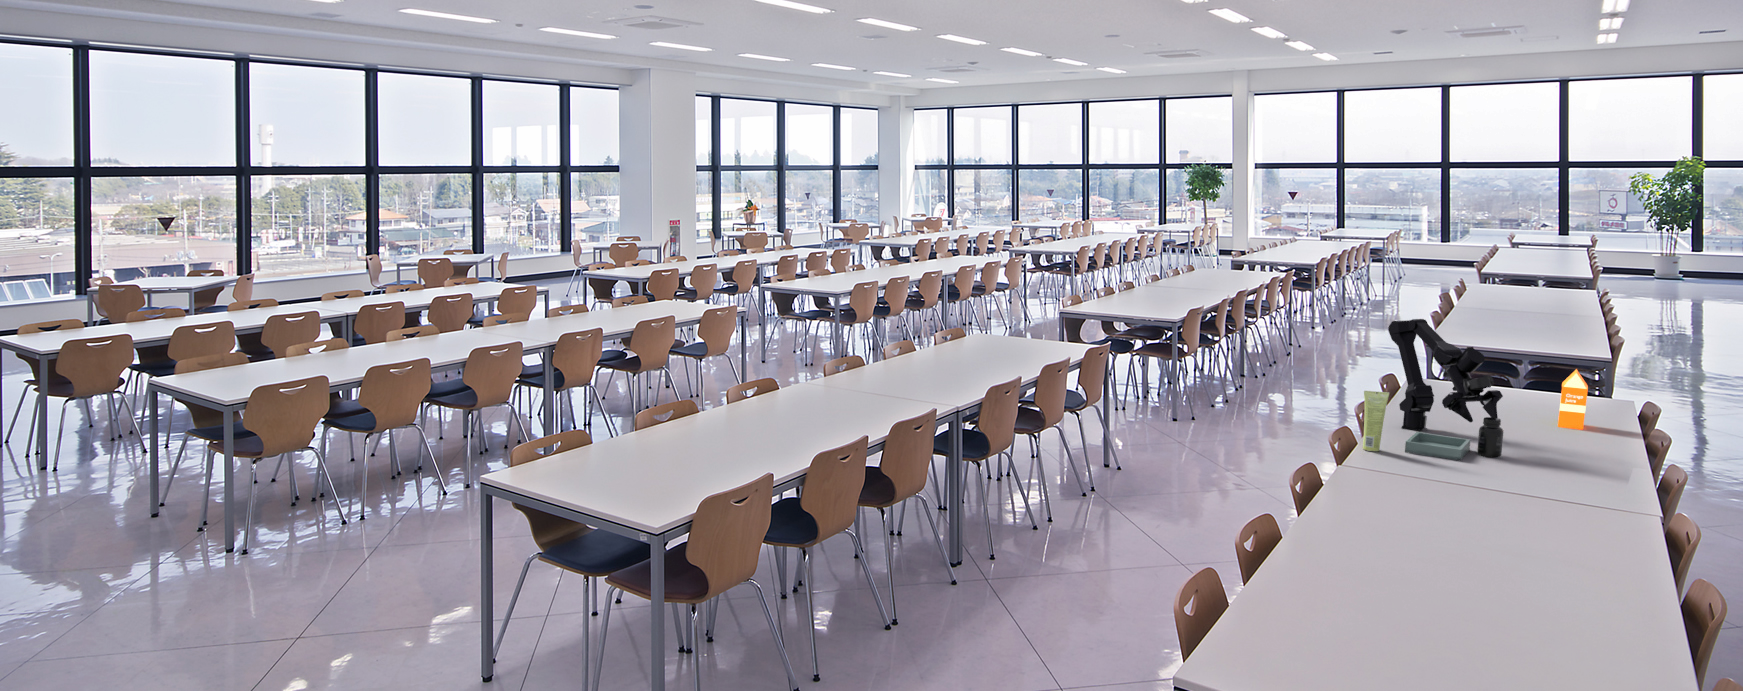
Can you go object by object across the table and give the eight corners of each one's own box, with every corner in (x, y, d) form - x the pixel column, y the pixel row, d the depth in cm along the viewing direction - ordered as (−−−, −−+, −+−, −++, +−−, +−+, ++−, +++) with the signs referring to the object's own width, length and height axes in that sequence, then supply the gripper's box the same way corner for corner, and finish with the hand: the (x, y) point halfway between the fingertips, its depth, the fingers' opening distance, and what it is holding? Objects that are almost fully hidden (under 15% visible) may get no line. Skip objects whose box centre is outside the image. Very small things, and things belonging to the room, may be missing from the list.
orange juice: (1583, 424, 386) (1589, 369, 383) (1583, 429, 379) (1590, 373, 376) (1557, 421, 391) (1563, 367, 387) (1557, 426, 383) (1563, 371, 380)
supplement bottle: (1495, 452, 350) (1499, 416, 347) (1505, 458, 343) (1509, 421, 341) (1472, 452, 350) (1476, 415, 348) (1482, 457, 343) (1486, 421, 341)
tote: (1404, 452, 350) (1405, 441, 349) (1415, 442, 362) (1416, 431, 362) (1460, 460, 340) (1461, 449, 339) (1469, 450, 352) (1470, 439, 352)
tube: (1371, 447, 356) (1376, 388, 352) (1384, 450, 351) (1389, 392, 348) (1359, 449, 353) (1363, 390, 350) (1372, 452, 349) (1377, 393, 345)
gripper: (1451, 368, 348) (1473, 409, 340) (1501, 365, 352) (1524, 406, 343) (1432, 387, 357) (1453, 427, 348) (1480, 384, 361) (1503, 424, 352)
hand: (1484, 421), depth 348 cm, fingers open, 9 cm apart
